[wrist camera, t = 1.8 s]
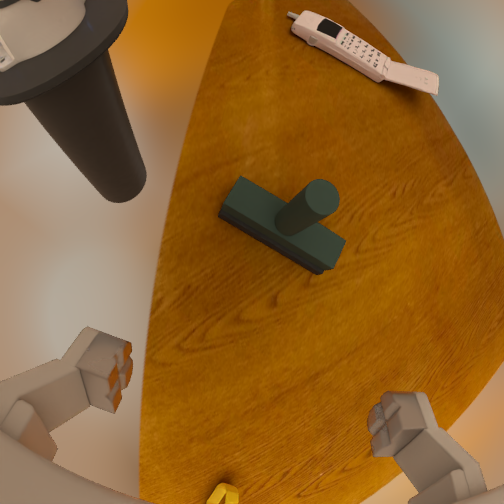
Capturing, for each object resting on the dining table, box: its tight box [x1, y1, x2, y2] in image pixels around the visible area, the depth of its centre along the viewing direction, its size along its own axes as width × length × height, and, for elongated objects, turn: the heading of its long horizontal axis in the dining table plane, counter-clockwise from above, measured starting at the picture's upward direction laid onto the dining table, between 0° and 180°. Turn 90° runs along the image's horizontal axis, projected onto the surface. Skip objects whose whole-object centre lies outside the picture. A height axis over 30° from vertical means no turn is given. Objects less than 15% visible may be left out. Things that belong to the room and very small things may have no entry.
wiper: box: [218, 176, 346, 275], centre depth 26 cm, size 12×4×12 cm, turn 61°
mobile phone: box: [287, 11, 439, 96], centre depth 35 cm, size 6×6×25 cm
